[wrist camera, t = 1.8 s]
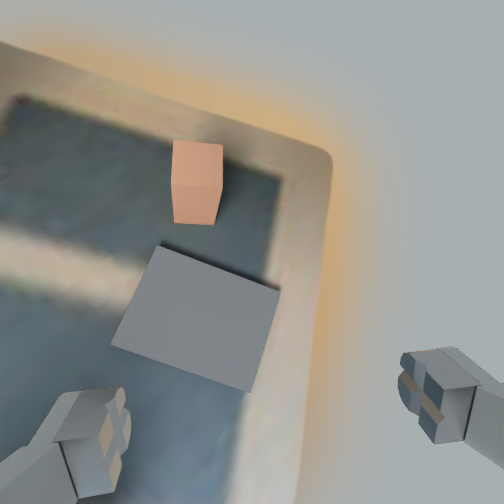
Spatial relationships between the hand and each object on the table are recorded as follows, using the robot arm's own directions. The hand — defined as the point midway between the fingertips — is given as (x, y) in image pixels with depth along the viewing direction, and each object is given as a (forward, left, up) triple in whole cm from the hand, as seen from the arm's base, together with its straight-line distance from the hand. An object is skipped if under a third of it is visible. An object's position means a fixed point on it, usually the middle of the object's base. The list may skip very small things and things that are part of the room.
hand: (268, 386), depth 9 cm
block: (-8, +17, -28) cm, 34 cm away
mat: (-2, +4, -28) cm, 28 cm away
